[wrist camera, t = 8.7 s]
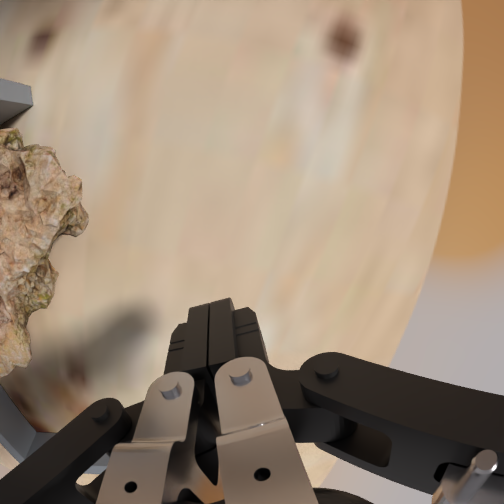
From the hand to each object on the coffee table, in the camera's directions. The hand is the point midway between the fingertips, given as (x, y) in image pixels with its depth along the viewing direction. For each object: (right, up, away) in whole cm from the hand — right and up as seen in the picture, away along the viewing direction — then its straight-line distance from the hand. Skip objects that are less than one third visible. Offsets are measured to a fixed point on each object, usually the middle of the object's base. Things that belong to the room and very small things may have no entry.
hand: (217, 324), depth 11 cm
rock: (-13, +2, +4) cm, 14 cm away
